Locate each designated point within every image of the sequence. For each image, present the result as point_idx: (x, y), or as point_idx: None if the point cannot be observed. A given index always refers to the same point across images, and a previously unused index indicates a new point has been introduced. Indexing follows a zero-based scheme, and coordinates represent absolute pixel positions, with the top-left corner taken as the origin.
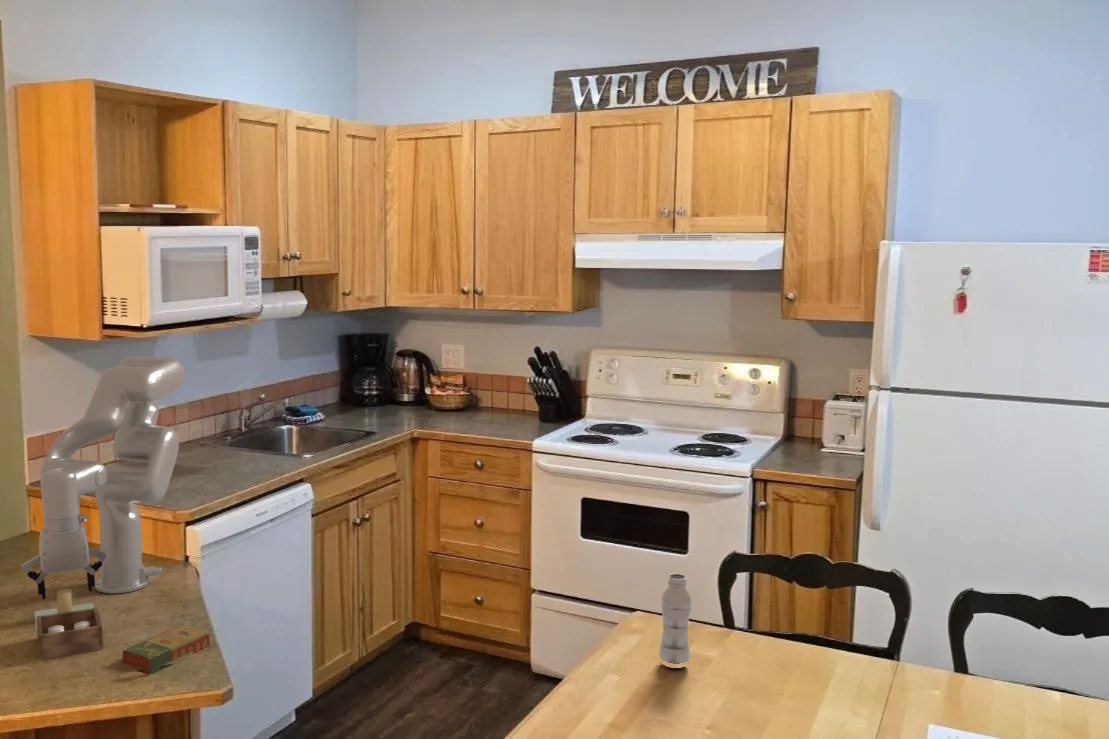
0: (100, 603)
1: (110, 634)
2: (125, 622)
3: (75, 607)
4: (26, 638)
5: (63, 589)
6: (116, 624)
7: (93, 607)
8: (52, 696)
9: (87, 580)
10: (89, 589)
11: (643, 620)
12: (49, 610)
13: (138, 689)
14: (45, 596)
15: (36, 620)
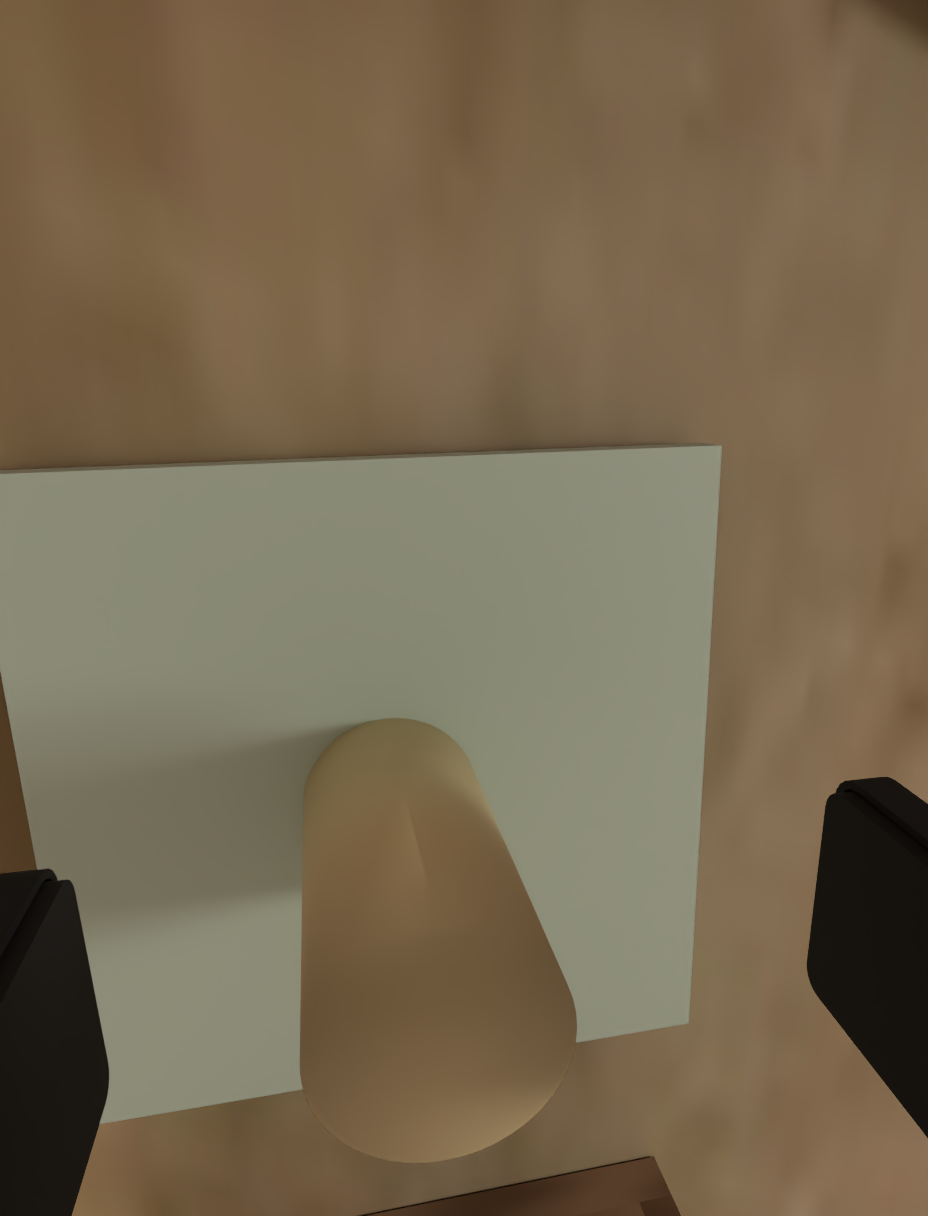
0: (784, 329)
1: (737, 1193)
2: None
3: (513, 533)
4: None
5: (427, 948)
6: (817, 1001)
7: (706, 614)
8: None
9: (925, 885)
10: (839, 1012)
11: None
12: (184, 519)
13: None
14: (96, 1125)
15: (49, 830)
